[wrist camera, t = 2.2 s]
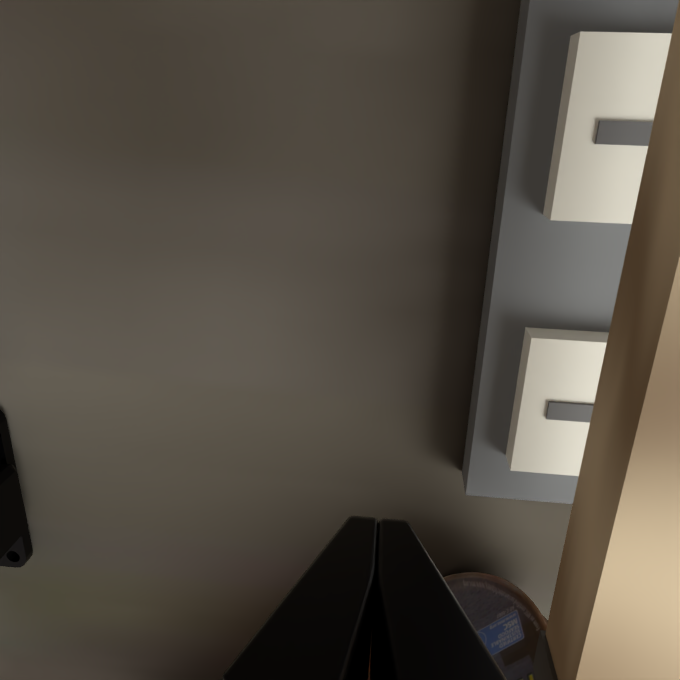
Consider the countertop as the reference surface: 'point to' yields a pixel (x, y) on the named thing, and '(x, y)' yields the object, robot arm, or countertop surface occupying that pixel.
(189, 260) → the countertop surface
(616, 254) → the label board
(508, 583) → the tin
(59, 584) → the countertop surface
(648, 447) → the bar
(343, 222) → the countertop surface
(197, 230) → the countertop surface
